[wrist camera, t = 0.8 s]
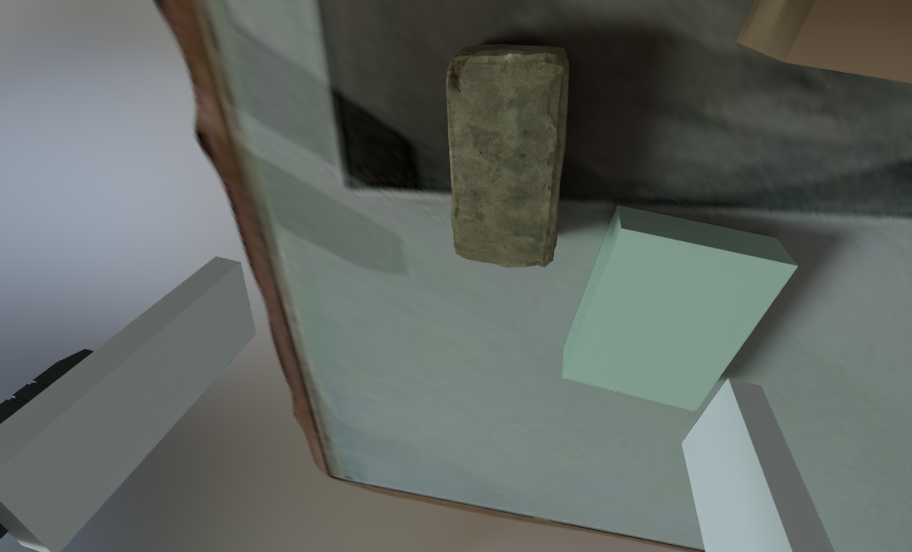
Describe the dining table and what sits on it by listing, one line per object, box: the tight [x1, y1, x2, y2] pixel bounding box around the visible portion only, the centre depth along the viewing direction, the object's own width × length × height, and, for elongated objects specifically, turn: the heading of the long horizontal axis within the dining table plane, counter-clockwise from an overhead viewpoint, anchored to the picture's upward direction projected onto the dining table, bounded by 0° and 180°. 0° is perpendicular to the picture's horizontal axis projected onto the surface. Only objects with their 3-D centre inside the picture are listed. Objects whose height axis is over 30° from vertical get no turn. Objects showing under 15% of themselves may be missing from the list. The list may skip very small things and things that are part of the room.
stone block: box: [446, 44, 569, 268], centre depth 24 cm, size 6×12×5 cm, turn 4°
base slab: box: [562, 205, 798, 411], centre depth 28 cm, size 12×9×3 cm
